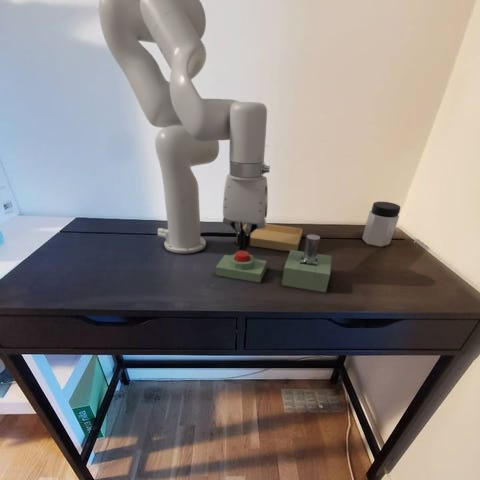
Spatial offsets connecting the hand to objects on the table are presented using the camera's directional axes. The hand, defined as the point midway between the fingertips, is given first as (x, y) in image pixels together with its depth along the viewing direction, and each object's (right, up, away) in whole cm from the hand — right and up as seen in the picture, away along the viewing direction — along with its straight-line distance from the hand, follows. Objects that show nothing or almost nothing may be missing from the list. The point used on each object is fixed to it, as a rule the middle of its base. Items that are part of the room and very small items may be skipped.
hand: (243, 248), depth 79 cm
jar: (+45, +8, +25) cm, 52 cm away
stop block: (0, -5, +4) cm, 7 cm away
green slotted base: (+16, -7, +3) cm, 18 cm away
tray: (+9, +8, +23) cm, 26 cm away
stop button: (0, -3, +2) cm, 3 cm away
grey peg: (+16, -7, +3) cm, 18 cm away
